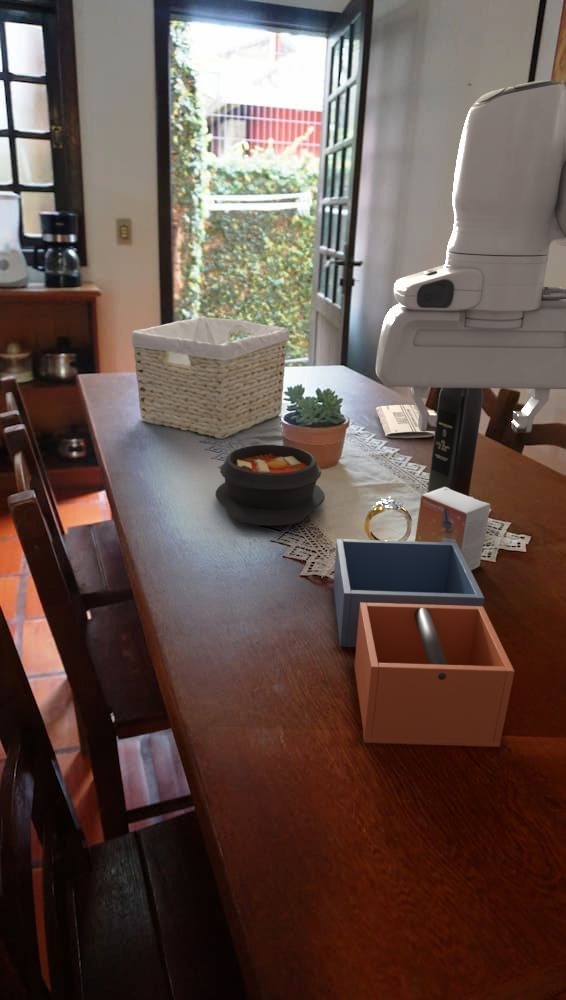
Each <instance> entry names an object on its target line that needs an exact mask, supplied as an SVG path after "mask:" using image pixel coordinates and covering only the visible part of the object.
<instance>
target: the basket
mask: <svg viewBox="0 0 566 1000" xmlns="http://www.w3.org/2000/svg"><path fill="white" fill-rule="evenodd" d="M232 334H234V335H236V336H239V335H245V336H247V337H243V338H238V339H235V340H232V341H231V336H232ZM289 338H290V330H289V329H288V328H286V327H284V326H275V325H268V324H261V323H256V322H253V321H245V320H243V319H234V318H219V317H207V316H206V315H203V316H196V317H194V318H190V319H183V320H177V321H173V322H170V323H169V322H168V323H165V324H161V325H157V326H151V327H147V328H141V329H135V330H133V331H132V333H131V344H132V347H133V352H134V361H135V369H136V370H135V374H136V381H137V389H138V390H137V392H138V403H139V404H138V405H139V406H138V407H139V412H140V418H141V420H142V422H145V423H149V424H153V425H155V424H156V425H159V426H164V427H172V428H175V429H180V430H182V431H191V432H194V433H196V432H197V433H198V434H199V435H207V436H209V437H214V438H215V439H219V440H223V439H225V438H228V437H229V436H233V435H235V434H237V433H239V432H240V431H243V430H248V429H250V428H252V427H253V426H254V425H258V424H261V423H263V422H265V421H266V420H270V419H273V418H276V417H277V416H280V415H281V414H282V406H283V392H284V379H285V378H284V377H285V366H286V365H285V364H286V355H287V345H288V340H289Z"/></svg>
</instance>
